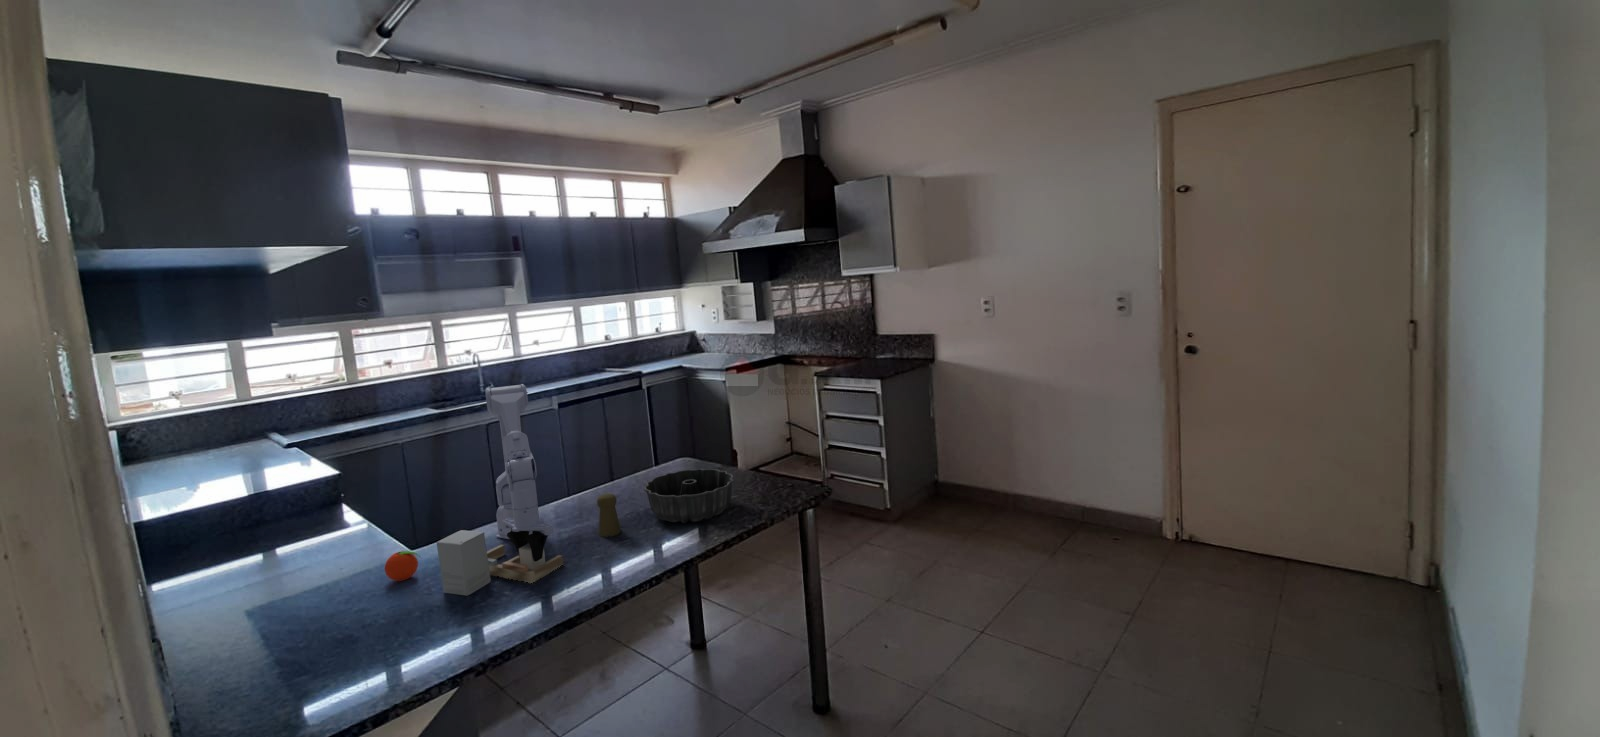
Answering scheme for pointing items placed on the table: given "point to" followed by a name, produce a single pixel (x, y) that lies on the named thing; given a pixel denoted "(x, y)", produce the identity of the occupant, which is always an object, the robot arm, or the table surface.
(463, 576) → the supplement box
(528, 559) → the plug
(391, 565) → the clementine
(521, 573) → the socket board
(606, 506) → the cork
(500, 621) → the table surface
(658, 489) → the bundt pan
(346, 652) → the table surface
